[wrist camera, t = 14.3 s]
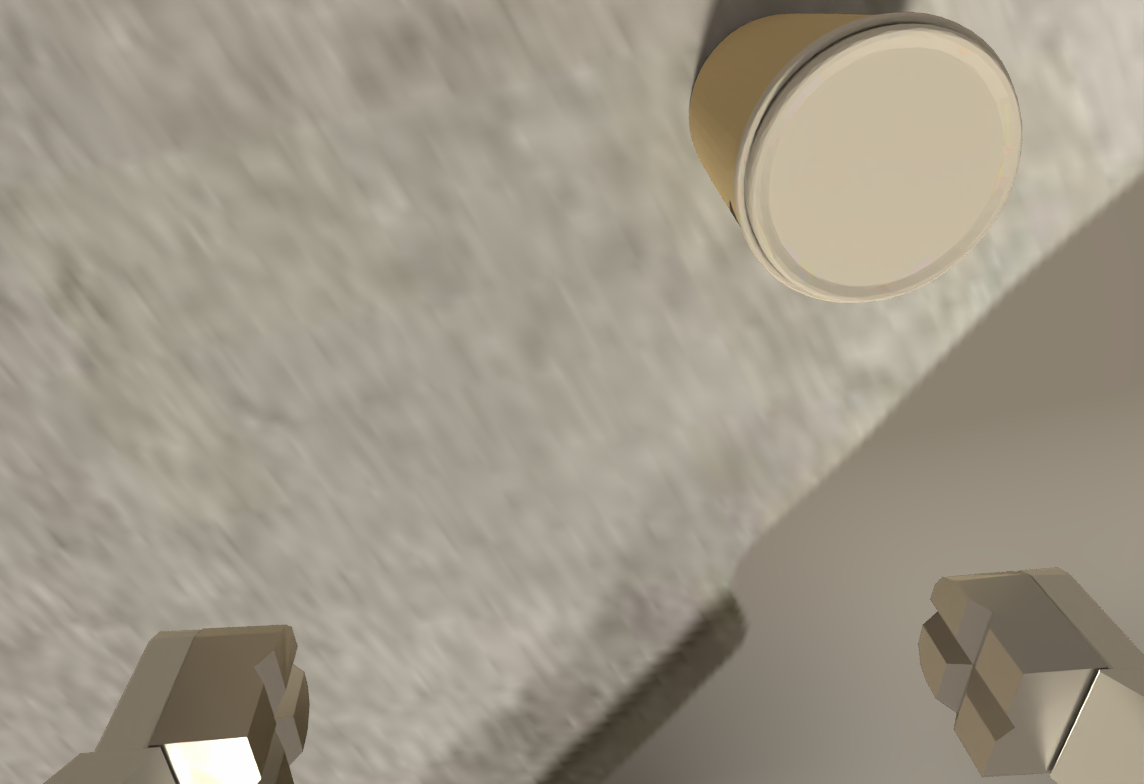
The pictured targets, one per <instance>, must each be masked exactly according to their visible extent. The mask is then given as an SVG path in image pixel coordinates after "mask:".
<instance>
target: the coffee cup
mask: <svg viewBox="0 0 1144 784" xmlns="http://www.w3.org/2000/svg"><path fill="white" fill-rule="evenodd" d="M689 126H690V133H691V138H692V141H693V145H694V148H695V150H696V152H697V155H698V157H699V159H700V161H701V163H702V165H703V166H704V168H705V170H706V172H707V173H708V175H709V177H710V178H711V180H712V182H713V183H714V185H715V187H716V188H717V190H718V192H719V193H720V195H721V197H722V198H723V200H724V201H725V203H726V205H727V206H728V208H729V209H730V211H731V213H732V214H733V216H734V217H735V219H736V221H737V222H738V224H739V225H740V227H741V230H742V232H743V234H744V236H745V239H746V241H747V243H748V245H749V247H750V248H751V250H752V252H753V253H754V255H755V256H756V258H757V259H758V260H759V262H760V263H761V264H762V265H763V267H764V268H765V269H766V270H767V271H768V272H770V273H771V274H772V275H773V276H774V277H775V278H776V279H778V280H779V281H781V282H782V283H783V284H785V285H786V286H788V287H790V288H792V289H793V290H795V291H797V292H799V293H802V294H804V295H807V296H809V297H813V298H816V299H820V300H825V301H831V302H844V303H854V302H870V301H878V300H885V299H889V298H892V297H896V296H900V295H902V294H905V293H908V292H911V291H913V290H915V289H917V288H920V287H922V286H924V285H926V284H928V283H929V282H931V281H933V280H935V279H936V278H938V277H939V276H941V275H942V274H944V273H945V272H947V271H948V270H950V269H951V268H952V267H953V266H955V265H956V264H957V263H958V262H959V261H961V260H962V259H963V258H964V257H965V256H966V255H967V254H968V253H969V252H970V251H971V250H972V249H973V248H974V247H975V246H976V245H977V244H978V242H979V241H980V240H981V239H982V238H983V237H984V235H985V234H986V233H987V231H988V230H989V229H990V228H991V226H992V225H993V223H994V221H995V220H996V218H997V216H998V215H999V213H1000V211H1001V209H1002V208H1003V206H1004V204H1005V202H1006V200H1007V198H1008V195H1009V193H1010V190H1011V188H1012V185H1013V183H1014V179H1015V176H1016V173H1017V170H1018V165H1019V160H1020V155H1021V146H1022V120H1021V113H1020V108H1019V104H1018V99H1017V95H1016V93H1015V90H1014V87H1013V84H1012V82H1011V79H1010V76H1009V74H1008V72H1007V70H1006V68H1005V67H1004V65H1003V63H1002V61H1001V60H1000V59H999V57H998V56H997V54H996V53H995V52H994V50H993V49H992V48H991V47H990V46H989V45H988V44H987V43H986V42H985V41H984V40H983V39H981V38H980V37H979V36H977V35H976V34H975V33H974V32H972V31H971V30H969V29H967V28H965V27H963V26H962V25H960V24H958V23H956V22H953V21H951V20H948V19H945V18H943V17H939V16H935V15H930V14H926V13H915V12H896V13H885V14H878V15H863V14H817V13H792V14H777V15H771V16H766V17H763V18H759V19H756V20H754V21H751V22H749V23H747V24H745V25H743V26H741V27H739V28H738V29H736V30H735V31H734V32H732V33H731V34H729V35H728V36H727V37H726V38H725V39H724V40H723V41H722V42H720V44H719V45H718V46H717V47H716V48H715V49H714V50H713V51H712V53H711V54H710V55H709V57H708V58H707V60H706V61H705V63H704V65H703V66H702V68H701V70H700V72H699V74H698V77H697V79H696V82H695V84H694V88H693V91H692V95H691V101H690V107H689Z"/></svg>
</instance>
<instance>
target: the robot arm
mask: <svg viewBox="0 0 1144 784" xmlns="http://www.w3.org/2000/svg"><path fill="white" fill-rule="evenodd" d="M930 600H931V601H932V603H933V605H934V606H935V607H936V609H937V611H938V612H936V613H935V614H934V615H933V616H932V617H931V618H930V619H929V620H928V621H926V622H925V623H924V624H923V626H922V630H921V634H920V638H919V643H918V647H919V655H920V665H921V668H922V671H923V674H924V676H925V679H926V682H927V684H928V686H929V687H930V689H931V691H932V693H933V694H934V696H935V698H936V699H937V700H939V701H940V702H941V703H943V704H944V705H946V706H947V707H949V708H950V709H952V710H953V711H955V712H956V713H957V714H956V719H955V725H954V731H955V732H956V734H957V736H958V737H959V739H960V741H961V742H962V744H963V746H964V747H965V749H966V751H967V752H968V754H969V756H970V757H971V759H972V761H973V762H974V764H975V766H976V768H977V769H978V771H979V773H980V774H981V776H982V777H993V776H1009V775H1027V774H1042V773H1051V775H1050V777H1051V778H1052V779H1053V780H1054V781H1056V782H1057V783H1058V784H1144V654H1143V653H1142V652H1141V651H1140V650H1139V649H1138V648H1137V647H1136V646H1135V645H1134V643H1133V642H1132V641H1131V640H1130V639H1129V638H1128V637H1127V636H1126V635H1125V634H1124V633H1123V631H1122V630H1121V629H1120V628H1119V627H1118V626H1117V625H1116V624H1115V623H1114V622H1113V621H1112V619H1111V618H1110V617H1109V616H1108V615H1107V614H1106V613H1105V612H1104V611H1103V610H1102V609H1101V607H1100V606H1098V604H1097V603H1096V602H1095V601H1094V600H1093V599H1092V598H1091V597H1090V595H1089V594H1087V592H1086V591H1085V590H1084V589H1083V588H1082V587H1081V586H1080V585H1079V584H1078V583H1077V581H1076V580H1075V579H1074V578H1073V577H1072V576H1071V575H1070V574H1069V573H1067V572H1065V571H1064V570H1062V569H1060V568H1058V567H1055V568H1042V569H1030V570H1020V571H1017V572H1015V571H1006V572H995V573H982V574H970V575H958V576H947V577H942V578H941V579H940V580H939V581H938V582H937V583H936V584H935V586H934V589H933V592H932V595H931V599H930ZM297 647H298V646H297V643H296V639H295V636H294V633H293V630H292V627H291V626H288V625H268V626H248V627H227V628H206V629H202V630H181V631H160V632H159V633H158V634H157V635H156V636H154V637H153V638H152V639H151V640H150V641H149V642H148V644H147V646H146V648H145V650H144V652H143V654H142V656H141V658H140V660H139V662H138V664H137V667H136V669H135V671H134V673H133V675H132V677H131V679H130V681H129V683H128V685H127V687H126V689H125V691H124V693H123V695H122V697H121V699H120V701H119V703H118V705H117V707H116V709H115V711H114V713H113V715H112V717H111V719H110V721H109V723H108V725H107V727H106V729H105V731H104V733H103V735H102V737H101V739H100V741H99V743H98V745H97V747H96V749H95V751H94V752H89V753H80V754H79V755H78V756H77V757H75V758H74V759H73V760H72V761H70V762H69V763H68V764H67V765H66V766H64V767H63V768H62V769H61V770H59V771H58V772H57V773H56V774H55V775H53V776H52V777H51V778H50V779H48V780H47V781H46V782H45V783H44V784H294V781H293V778H292V774H291V771H290V767H289V765H290V764H291V763H292V762H293V761H294V760H295V759H296V758H297V757H298V756H299V755H300V754H301V753H302V752H303V749H304V744H305V739H306V735H307V730H308V718H309V693H308V685H307V681H306V677H305V672H304V671H303V670H301V669H300V668H298V667H297V666H296V665H294V664H293V662H294V658H295V654H296V650H297Z"/></svg>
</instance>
